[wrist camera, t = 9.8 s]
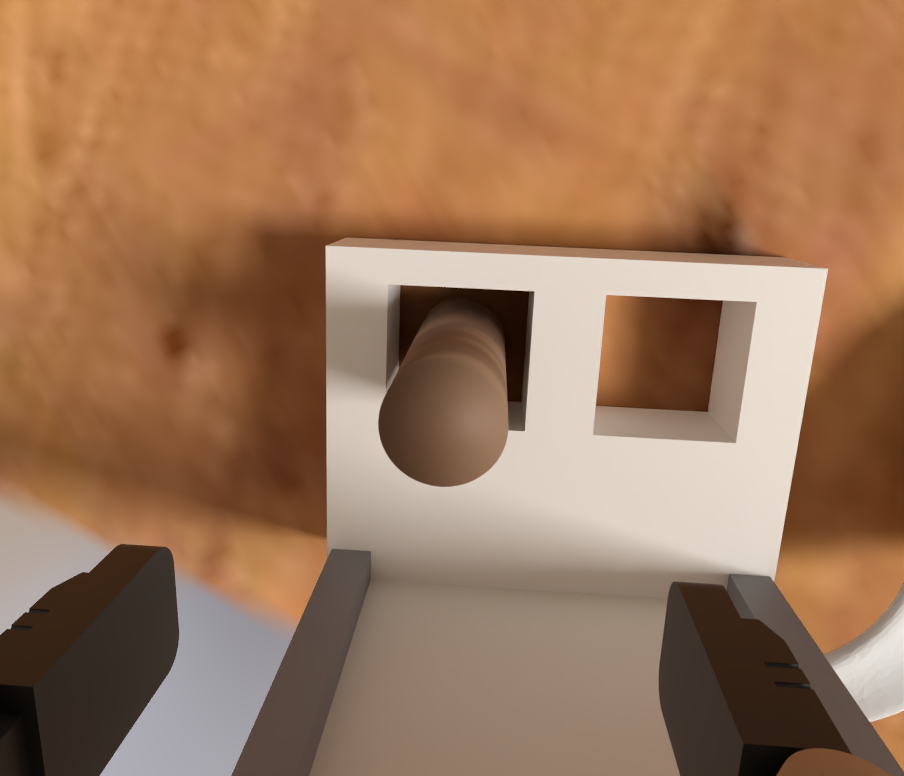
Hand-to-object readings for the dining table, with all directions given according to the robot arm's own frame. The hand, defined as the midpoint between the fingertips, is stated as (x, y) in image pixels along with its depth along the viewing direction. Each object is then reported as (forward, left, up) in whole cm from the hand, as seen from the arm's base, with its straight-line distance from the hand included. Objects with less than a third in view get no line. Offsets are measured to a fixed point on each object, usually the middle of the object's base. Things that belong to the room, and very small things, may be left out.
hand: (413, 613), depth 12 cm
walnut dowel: (0, 0, -21) cm, 21 cm away
